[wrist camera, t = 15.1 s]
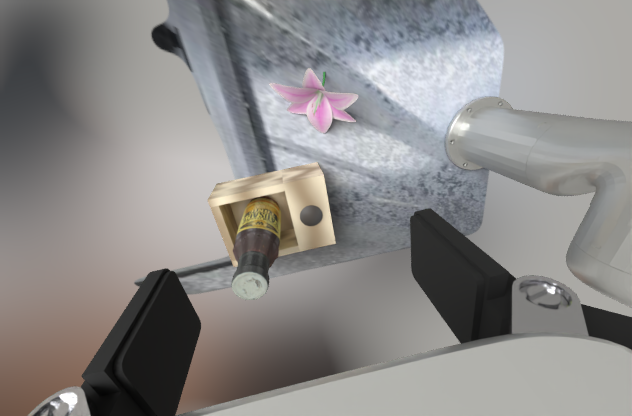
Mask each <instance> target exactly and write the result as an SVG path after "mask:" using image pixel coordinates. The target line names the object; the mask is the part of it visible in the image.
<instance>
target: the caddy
mask: <svg viewBox="0 0 632 416" xmlns="http://www.w3.org/2000/svg"><path fill="white" fill-rule="evenodd" d="M260 196H266V197H270V198H272V199H273V200H275V201H276V202H277V203H278V205H279V207H280V211H281V228H280V245H279V255H278V257H279V256H283V255H288V254H292V253H296V252H301V251H305V250H310V249H314V248H318V247H323V246H327V245H331V244H336V242H335V236H334V231H333V225H332V219H331V213H330V207H329V202H328V196H327V190H326V184H325V179H324V174H323V172H322V170H321V169H320V167H319V165H318V163H317V162H316V163H311V164H307V165H302V166H297V167H293V168H288V169H283V170H279V171H274V172H269V173H265V174H260V175H256V176H251V177H246V178H242V179H237V180H233V181H228V182H223V183H218V184H216V186H215V188H214V190H213V192H212V193H211V195H210V197H209V199H208V202H209V205H210V207H211V209H212V213H213V215H214V218H215V220H216V223H217V225H218V228H219V230H220V233H221V235H222V238H223V241H224V243H225V246H226V248H227V251H228V253H229V256H230V258H231V261H232V263H233V266H234V267H236V266H238V262H237V261H236V259H235V256H234V254H233V248H234V244H235V240H236V235H237V232H238V229H239V225H240V222H241V220H242V217H243V214H244V211H245V208H246V206H247V205H248V203H249V202H250V201H251V200H252V199H254V198H256V197H260Z"/></svg>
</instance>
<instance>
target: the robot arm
mask: <svg viewBox="0 0 632 416" xmlns="http://www.w3.org/2000/svg"><path fill="white" fill-rule="evenodd" d="M445 147H446V152H447V155H448V157H449V159H450V160H451V161H452V162H453V163H454V164H455V165H457V166H458V167H460V168H463V169H466V170H477V169H482V168H486V169H489V170H491V171H494V172H496V173H499V174H501V175H503V176H506V177H509V178H511V179H513V180H516V181H518V182H520V183H523V184H525V185H528V186H530V187H533V188H535V189H538V190H540V191H543V192H545V193H548V194H552V195H557V196H574V195H581V194H586V193H591V192H595V191H596V193H595V195H594V197H593V199H592V201H591V203H590V207H589V209H588V211H587V213H586V215H585V217H584V219H583V221H582V223H581V224H580V226H579V228H578V230H577V232H576V234H575V236H574V238H573V240H572V242H571V244H570V246H569V248H568V251H567V255H566V262H567V266H568V268H569V269H570V271H571V272H572V273H573V274H574V276H575V277H577V278H578V279H579V280H581V281H582V282H583V283H585V284H586V285H588V286H589V287H591V288H593V289H594V290H596V291H598V292H600V293H602V294H604V295H606V296H608V297H610V298H612V299H614V300H616V301H618V302H620V303H622V304H625V305H627V306H629V307H631V308H632V122H628V121H615V120H602V119H593V118H584V117H574V116H566V115H557V114H548V113H539V112H532V111H523V110H514V109H513V108H512V107H511V105H510V104H509V103H508V102H506V101H505V100H503V99H501V98H498V97H481V98H478V99H475V100H473V101H471V102H469V103H468V104H466V105H465V106H464V107H463V108H462V109H460V110H459V112H458V113H457V114H456V115H455V116H454V118H453V120H452V121H451V123H450V125H449V127H448V130H447V134H446V139H445ZM410 226H411V262H412V263H411V267H412V273H413V276H414V278H415V280H416V281H417V282H418V284H419V285H420V287H421V288H422V290H423V291H424V292H425V294H426V295H427V297H428V298H429V299H430V301H431V302H432V303H433V305H434V306H435V308H436V309H437V311H438V312H439V313H440V315H441V316H442V318H443V319H444V320H445V322H446V323H447V325H448V326H449V327H450V329H451V330H452V332H453V333H454V334H455V336H456V337H457V338H458V340H459V341H460V343H461V344H458V345H453V346H449V347H444V348H440V349H436V350H431V351H427V352H424V353H419V354H415V355H412V356H407V357H403V358H399V359H395V360H391V361H387V362H383V363H379V364H375V365H371V366H367V367H363V368H359V369H355V370H351V371H347V372H343V373H340V374H335V375H331V376H327V377H323V378H320V379H316V380H312V381H307V382H304V383H300V384H296V385H292V386H288V387H284V388H280V389H276V390H272V391H269V392H264V393H261V394H257V395H253V396H249V397H245V398H241V399H237V400H233V401H230V402H226V403H222V404H218V405H214V406H210V407H207V408H203V409H199V410H195V411H191V412H188V413H184V414H180V415H176V416H632V317H628V316H624V315H621V314H617V313H613V312H609V311H606V310H602V309H598V308H594V307H590V306H586V305H583V304H581V303H580V300H579V298H578V296H577V294H575V293H574V292H573V291H572V290H571V289H570V288H569V287H567V286H566V285H564V284H562V283H560V282H558V281H556V280H553V279H550V278H546V277H543V276H534V275H531V276H523V277H520V278H517V279H516V278H515V277H514V276H512V275H511V274H510V273H509V272H508V271H507V270H506V269H504V268H503V267H502V266H501V265H500V264H498V263H497V262H496V261H495V260H493V259H492V258H491V257H490V256H488V255H487V254H486V253H485V252H483V251H482V250H481V249H480V248H479V247H477V246H476V245H475V244H474V243H472V242H471V241H470V240H469V239H468V238H466V237H465V236H464V235H463V234H461V233H460V232H459V231H458V230H456V229H455V228H454V227H453V226H452V225H450V224H449V223H448V222H447V221H445V220H444V219H443V218H442V217H441V216H439V215H438V214H437V213H436V212H434V211H433V210H432V209H425V210H421V211H416V212H415V213H414V216H411V218H410ZM200 330H201V322H200V320H199V317H198V315H197V313H196V312H195V310H194V308H193V306H192V304H191V302H190V300H189V298H188V296H187V294H186V292H185V290H184V289H183V287H182V285H181V283H180V281H179V279H178V277H177V275H176V273H175V272H174V271H170V270H169V269H162V270H157V271H153V272H150V273H149V274H148V275H147V277H146V278H145V280H144V281H143V283H142V284H141V286H140V288H139V289H138V291H137V292H136V294H135V295H134V297H133V298H132V300H131V301H130V303H129V304H128V306H127V307H126V309H125V310H124V312H123V313H122V315H121V317H120V318H119V320H118V321H117V323H116V324H115V326H114V327H113V329H112V330H111V332H110V333H109V335H108V336H107V338H106V339H105V341H104V343H103V344H102V345H101V347H100V349H99V350H98V352H97V353H96V355H95V356H94V358H93V359H92V361H91V363H90V364H89V365H88V367H87V369H86V370H85V372H84V373H83V374H82V377H83V379H84V380H85V381H84V383H83V384H82V386H81V388H80V387H69V388H66V389H63V390H61V391H59V392H57V393H55V394H54V395H52V396H50V397H49V398H47V399H46V400H45V401H43V402H42V403H41V404H40V405H38V406H37V407H36V408H35V409H34V410H33V411H32V412H31V413H30V414H29V415H28V416H175V414H176V411H177V408H178V404H179V401H180V397H181V394H182V390H183V387H184V384H185V380H186V377H187V374H188V371H189V367H190V364H191V360H192V357H193V354H194V350H195V347H196V344H197V340H198V337H199V334H200Z"/></svg>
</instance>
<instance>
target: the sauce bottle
mask: <svg viewBox="0 0 632 416" xmlns="http://www.w3.org/2000/svg"><path fill="white" fill-rule="evenodd" d="M280 228H281V211H280V207H279V205H278V203H277V202H276V201H275V200H273V199H272V198H270V197H266V196H260V197H256V198H254V199H252V200H251V201H250V202H249V203H248V205H247V206H246V208H245V211H244V214H243V217H242V220H241V222H240V225H239V229H238V232H237V235H236V240H235V244H234V248H233V254H234V256H235V259H236V261H237V262H238V267H237V271H236V272H235V274H234V276H233V280H232V290H233V291H234V293H235V294H236V295H237V296H238V297H240V298H242V299H246V300H255V299H258V298H260V297H262V296H263V295H264V294H265V293H266V292H267V290H268V285H269V275H268V269H269V268H270V267H271V266H272V264H273V262H274V260H275V259H276V258H278V255H279V245H280Z"/></svg>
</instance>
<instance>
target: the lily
mask: <svg viewBox="0 0 632 416" xmlns="http://www.w3.org/2000/svg"><path fill="white" fill-rule="evenodd" d="M324 83H325V72H323V83H322V84H321V82H320V81H319V79H318V78H317V76H316V75H315V74H314V72H313V71H312V69H310V68H308V69H307V71H306V73H305V76H304V79H303V84H302V86H303V88H296V87H289V86H284V85H280V84H276V83H269V84H270V86H271V87H272V88H273V89H274V90H275V91H276V92H277V93H278V94H279V95H280V96H282V97H283V98H284V99H286V100H287V101H289V102H292V104H291V105H290V106H289V107H288V109H287V111H289V112H291V113H296V114H307V117H308V120H309V121H310V123H311V124H312V125H313V126H314V127H315V128H316V129H317V130H318V131H319V132H321V133H326V132H327V130H328V129H329V127H330V125H331V123H332V118H335V119H338V120H342V121H347V122H356V120H355V119H353V118H352V117H351V116H350V115H349V114H348V113H347V112H345V111H344V109H346V108H348V107H349V106H350V105H352V104H353V103H354V102H355V101H356V100H357V98H358V95H357V94H352V93H334V92H327V91H326V90H325V89H324Z"/></svg>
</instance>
